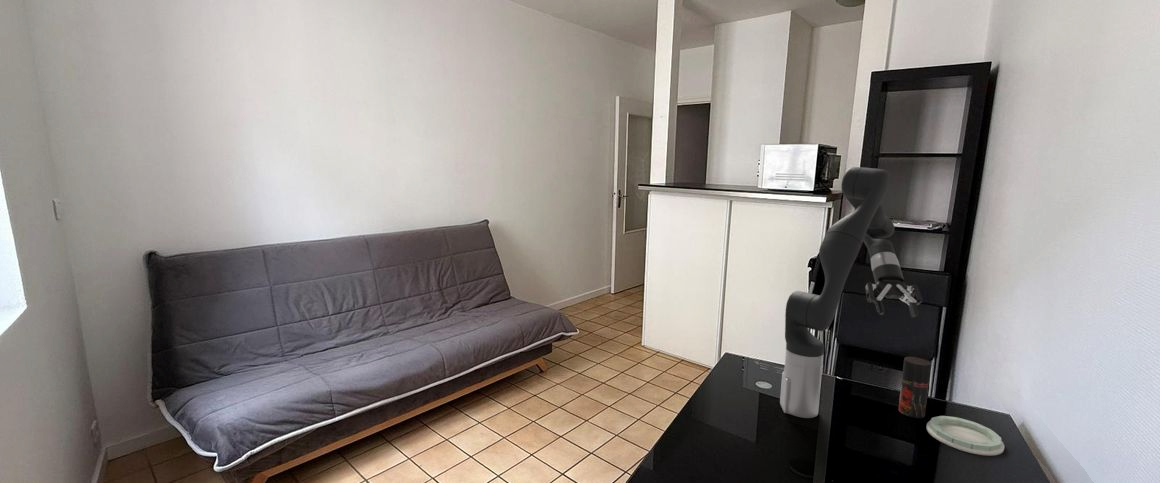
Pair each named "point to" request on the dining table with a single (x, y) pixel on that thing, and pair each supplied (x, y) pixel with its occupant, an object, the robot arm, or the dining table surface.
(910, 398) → the deodorant
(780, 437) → the dining table surface
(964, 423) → the round plate
